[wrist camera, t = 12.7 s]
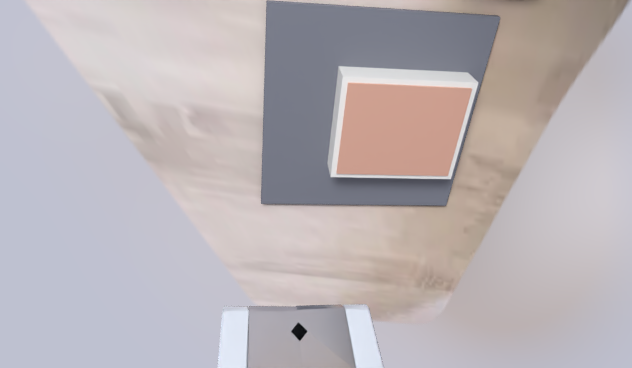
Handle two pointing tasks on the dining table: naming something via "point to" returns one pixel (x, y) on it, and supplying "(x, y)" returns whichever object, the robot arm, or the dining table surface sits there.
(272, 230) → the dining table surface
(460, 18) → the mat
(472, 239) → the dining table surface
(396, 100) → the tile
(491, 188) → the dining table surface
